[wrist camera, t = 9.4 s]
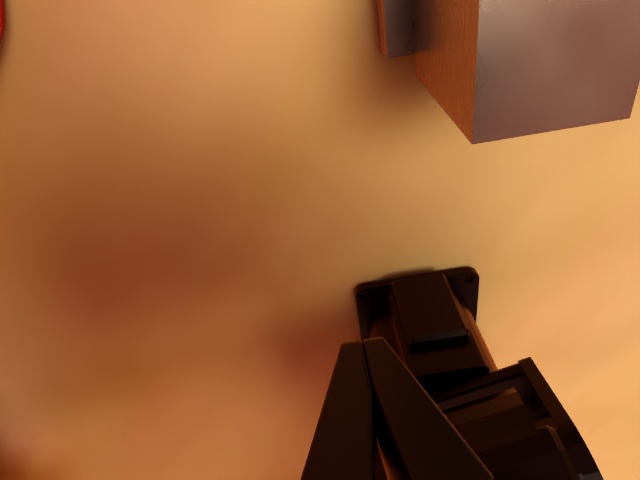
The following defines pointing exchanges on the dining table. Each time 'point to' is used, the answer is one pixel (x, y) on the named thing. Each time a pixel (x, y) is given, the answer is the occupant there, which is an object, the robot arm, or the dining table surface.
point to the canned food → (2, 18)
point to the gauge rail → (519, 60)
